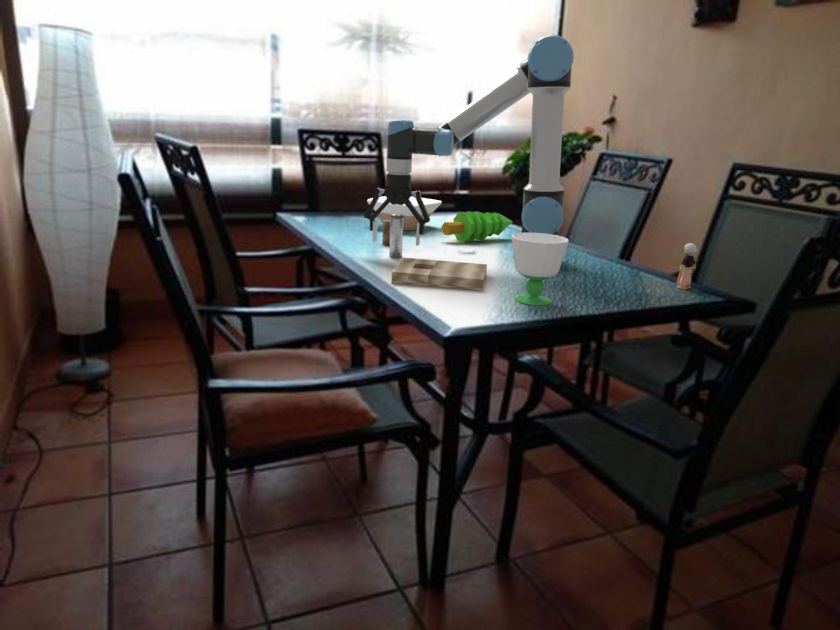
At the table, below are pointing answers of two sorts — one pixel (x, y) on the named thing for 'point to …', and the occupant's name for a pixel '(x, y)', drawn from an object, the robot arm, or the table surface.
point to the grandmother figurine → (686, 267)
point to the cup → (537, 262)
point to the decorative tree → (475, 225)
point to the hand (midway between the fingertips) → (396, 243)
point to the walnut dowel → (386, 232)
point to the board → (440, 274)
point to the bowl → (405, 210)
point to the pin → (396, 235)
